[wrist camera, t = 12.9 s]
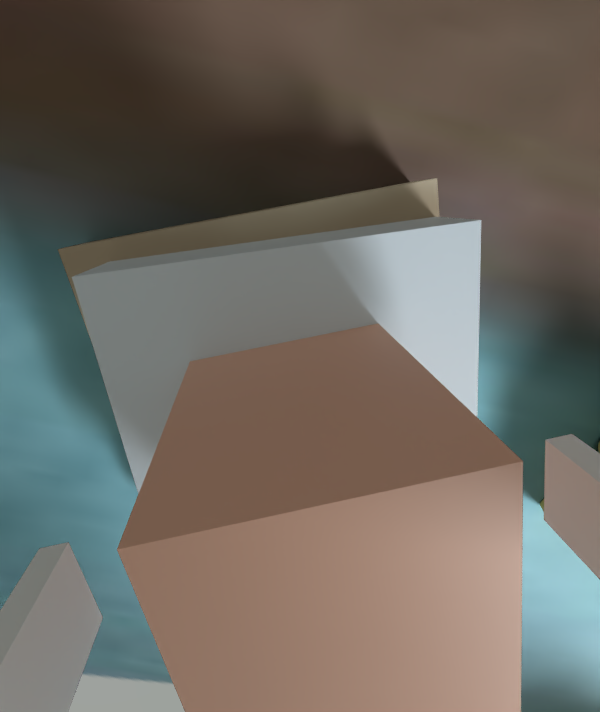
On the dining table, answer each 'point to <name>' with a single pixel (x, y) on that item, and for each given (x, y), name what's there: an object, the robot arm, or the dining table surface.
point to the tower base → (262, 225)
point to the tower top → (280, 309)
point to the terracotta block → (330, 536)
